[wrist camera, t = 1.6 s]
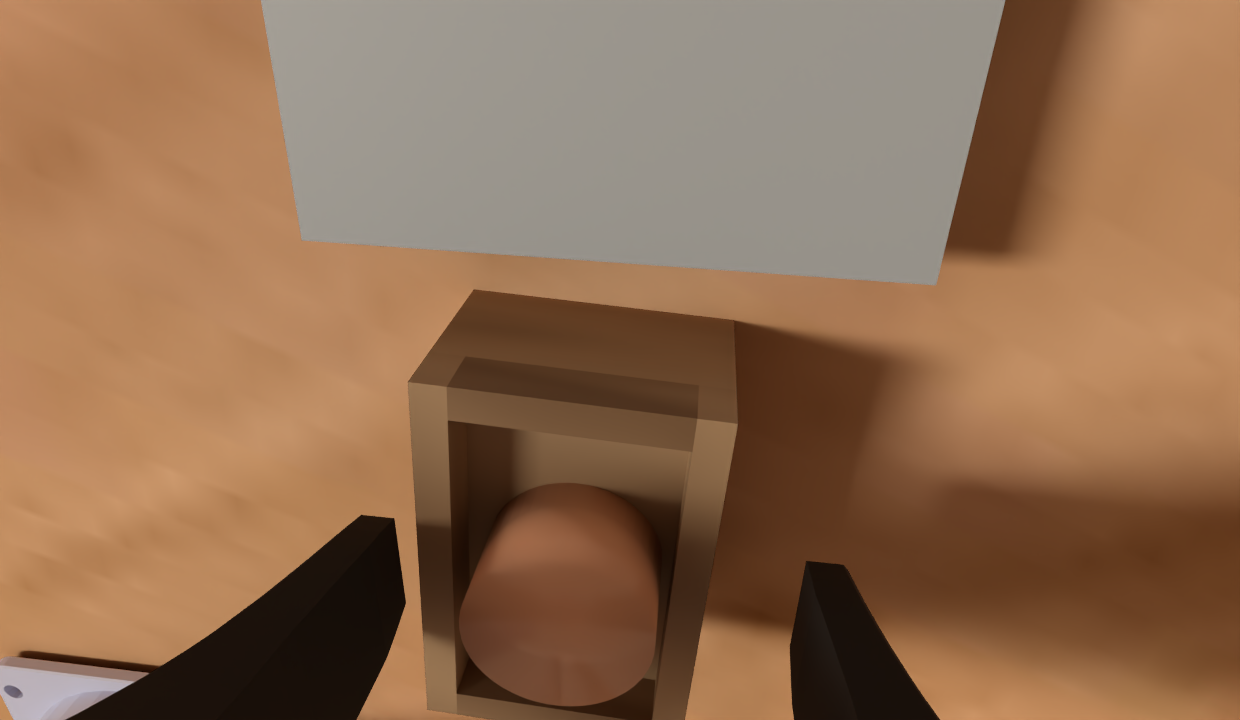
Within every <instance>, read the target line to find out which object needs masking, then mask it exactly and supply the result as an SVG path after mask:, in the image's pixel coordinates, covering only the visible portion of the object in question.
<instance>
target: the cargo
mask: <svg viewBox="0 0 1240 720" xmlns="http://www.w3.org/2000/svg"><path fill="white" fill-rule="evenodd" d="M661 568H662V550H661V546H660V541H659V539H658V537H657V534H656V532H655V530H654V529H653V527H652V525H651V524H650V522H649V521H648V520H647V519H646V517H645V516H644V515H643V514H642V513H641V512H640V511H639V510H638V509H637V508H635V507H634V506H633V505H632V504H630V503H629V502H628V501H626V500H624V499H623V498H621V497H619V496H618V495H615V494H613V493H611V492H609V491H607V490H604V489H601V488H598V487H594V486H590V485H585V484H578V483H553V484H546V485H542V486H538V487H535V488H532V489H529V490H527V491H525V492H523V493H521V494H519V495H518V496H516V497H515V498H513V499H512V500H511V501H510V502H508V503H507V504H506V505H505V506H504V507H503V509H502V510H501V511H500V513H499V514H498V516H497V518H496V519H495V521H494V523H493V526H492V529H491V531H490V534H489V536H488V539H487V541H486V544H485V547H484V549H483V552H482V554H481V557H480V559H479V562H478V565H477V567H476V570H475V572H474V575H473V578H472V580H471V583H470V585H469V588H468V590H467V593H466V596H465V598H464V601H463V603H462V607H461V610H460V615H459V631H460V635H461V640H462V642H463V645H464V647H465V649H466V651H467V653H468V655H469V656H470V658H471V659H472V661H473V662H474V663H475V665H476V666H477V667H478V668H479V669H480V670H481V671H482V672H483V673H484V674H485V675H486V676H487V677H489V678H490V679H491V680H492V681H493V682H495V683H496V684H498V685H499V686H501V687H502V688H504V689H506V690H508V691H510V692H512V693H514V694H516V695H518V696H521V697H523V698H526V699H529V700H532V701H535V702H540V703H544V704H549V705H557V706H585V705H592V704H597V703H601V702H605V701H608V700H611V699H613V698H616V697H618V696H620V695H622V694H623V693H625V692H627V691H628V690H630V689H631V688H632V687H634V686H635V685H636V684H637V683H638V682H639V681H640V680H641V679H642V678H643V677H644V675H645V674H646V673H647V671H648V669H649V667H650V665H651V663H652V660H653V657H654V653H655V643H656V631H657V618H658V605H659V593H660V580H661Z"/></svg>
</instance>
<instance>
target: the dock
mask: <svg viewBox="0 0 1240 720" xmlns="http://www.w3.org/2000/svg"><path fill="white" fill-rule="evenodd" d="M261 3H262V9H263V15H264V20H265V26H266V32H267V38H268V44H269V50H270V56H271V62H272V68H273V73H274V79H275V85H276V91H277V97H278V103H279V109H280V115H281V120H282V126H283V132H284V138H285V144H286V150H287V156H288V162H289V167H290V173H291V179H292V185H293V191H294V197H295V203H296V209H297V215H298V220H299V226H300V232H301V238H302V240H304V241H318V242H332V243H346V244H360V245H374V246H389V247H403V248H417V249H431V250H445V251H459V252H473V253H488V254H502V255H516V256H530V257H544V258H558V259H572V260H587V261H601V262H615V263H629V264H643V265H657V266H671V267H685V268H700V269H714V270H728V271H742V272H756V273H770V274H784V275H799V276H813V277H827V278H841V279H855V280H869V281H883V282H898V283H912V284H926V285H936V283H937V279H938V275H939V271H940V267H941V263H942V259H943V255H944V250H945V246H946V242H947V238H948V234H949V230H950V226H951V222H952V218H953V214H954V209H955V205H956V201H957V197H958V193H959V189H960V185H961V181H962V177H963V172H964V168H965V164H966V160H967V156H968V152H969V148H970V144H971V140H972V135H973V131H974V127H975V123H976V119H977V115H978V111H979V107H980V103H981V98H982V94H983V90H984V86H985V82H986V78H987V74H988V70H989V66H990V61H991V57H992V53H993V49H994V45H995V41H996V37H997V33H998V29H999V24H1000V20H1001V16H1002V12H1003V8H1004V4H1005V0H261Z"/></svg>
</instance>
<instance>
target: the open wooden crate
mask: <svg viewBox="0 0 1240 720" xmlns="http://www.w3.org/2000/svg"><path fill="white" fill-rule="evenodd" d="M408 394H409V411H410V427H411V444H412V461H413V477H414V494H415V511H416V527H417V544H418V561H419V577H420V594H421V611H422V628H423V644H424V661H425V678H426V694H427V710H432V711H439V712H445V713H452V714H458V715H465V716H471V717H478V718H484V719H491V720H685V716H686V710H687V705H688V699H689V693H690V688H691V682H692V677H693V671H694V666H695V660H696V655H697V649H698V644H699V638H700V632H701V627H702V621H703V616H704V610H705V605H706V599H707V594H708V588H709V582H710V577H711V571H712V566H713V560H714V555H715V549H716V544H717V538H718V533H719V527H720V521H721V516H722V510H723V505H724V499H725V494H726V488H727V483H728V477H729V471H730V466H731V460H732V455H733V449H734V444H735V438H736V433H737V427H738V410H737V385H736V360H735V335H734V320H727V319H719V318H710V317H702V316H694V315H685V314H677V313H668V312H660V311H651V310H643V309H634V308H626V307H617V306H609V305H600V304H592V303H584V302H575V301H567V300H558V299H550V298H541V297H533V296H524V295H516V294H507V293H499V292H490V291H482V290H473V292H472V293H471V294H470V296H469V297H468V299H467V300H466V301H465V303H464V304H463V306H462V307H461V308H460V310H459V311H458V312H457V314H456V315H455V317H454V318H453V319H452V321H451V322H450V324H449V325H448V326H447V328H446V329H445V331H444V332H443V333H442V335H441V336H440V338H439V339H438V340H437V342H436V343H435V345H434V346H433V347H432V349H431V350H430V352H429V353H428V354H427V356H426V357H425V359H424V360H423V361H422V363H421V364H420V366H419V367H418V368H417V370H416V371H415V373H414V374H413V375H412V377H411V378H410V380H409V381H408ZM553 483H578V484H585V485H590V486H594V487H598V488H601V489H604V490H607V491H609V492H611V493H613V494H615V495H618V496H619V497H621V498H623V499H624V500H626V501H628V502H629V503H630V504H632V505H633V506H634V507H635V508H637V509H638V510H639V511H640V512H641V513H642V514H643V515H644V516H645V517H646V519H647V520H648V521H649V522H650V524H651V525H652V527H653V529H654V530H655V532H656V534H657V537H658V539H659V541H660V546H661V550H662V568H661V580H660V593H659V605H658V618H657V631H656V643H655V653H654V657H653V660H652V663H651V665H650V667H649V669H648V671H647V673H646V674H645V675H644V677H643V678H642V679H641V680H640V681H639V682H638V683H637V684H636V685H635V686H634V687H632V688H631V689H630V690H628V691H627V692H625V693H623V694H622V695H620V696H618V697H616V698H613V699H611V700H608V701H605V702H601V703H597V704H592V705H585V706H557V705H549V704H544V703H540V702H535V701H532V700H529V699H526V698H523V697H521V696H518V695H516V694H514V693H512V692H510V691H508V690H506V689H504V688H502V687H501V686H499V685H498V684H496V683H495V682H493V681H492V680H491V679H490V678H489V677H487V676H486V675H485V674H484V673H483V672H482V671H481V670H480V669H479V668H478V667H477V666H476V665H475V663H474V662H473V661H472V659H471V658H470V656H469V655H468V653H467V651H466V649H465V647H464V645H463V642H462V640H461V635H460V631H459V615H460V610H461V607H462V603H463V601H464V598H465V596H466V593H467V590H468V588H469V585H470V583H471V580H472V578H473V575H474V572H475V570H476V567H477V565H478V562H479V559H480V557H481V554H482V552H483V549H484V547H485V544H486V541H487V539H488V536H489V534H490V531H491V529H492V526H493V523H494V521H495V519H496V518H497V516H498V514H499V513H500V511H501V510H502V509H503V507H504V506H505V505H506V504H507V503H508V502H510V501H511V500H512V499H513V498H515V497H516V496H518V495H519V494H521V493H523V492H525V491H527V490H529V489H532V488H535V487H538V486H542V485H546V484H553Z"/></svg>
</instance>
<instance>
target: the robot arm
mask: <svg viewBox="0 0 1240 720" xmlns="http://www.w3.org/2000/svg"><path fill="white" fill-rule="evenodd" d="M405 604H406V600H405V593H404V586H403V579H402V571H401V564H400V557H399V549H398V542H397V535H396V528H395V520H394V518H385V517H375V516H366V515H361V516H359V517H358V518H357V519H356V520H355V521H353V522H352V523H351V524H350V525H348V526H347V527H346V528H345V529H343V530H342V531H341V532H340V533H339V534H337V535H336V536H335V537H334V538H333V539H331V540H330V541H329V542H328V543H327V544H325V545H324V546H323V547H322V548H321V549H319V550H318V551H317V552H316V553H315V554H313V555H312V556H311V557H310V558H309V559H307V560H306V561H305V562H304V563H303V564H301V565H300V566H299V567H298V568H297V569H295V570H294V571H293V572H292V573H290V574H289V575H288V576H287V577H285V578H284V579H283V580H282V581H280V582H279V583H278V584H277V585H275V586H274V587H273V588H272V589H270V590H269V591H268V592H267V593H265V594H264V595H263V596H262V597H260V598H259V599H258V600H256V601H255V602H254V603H252V604H251V605H250V606H248V607H247V608H245V609H244V610H243V611H241V612H240V613H239V614H237V615H236V616H235V617H233V618H232V619H231V620H229V621H228V622H227V623H225V624H224V625H223V626H221V627H220V628H218V629H217V630H216V631H214V632H213V633H211V634H210V635H208V636H207V637H206V638H204V639H203V640H201V641H200V642H198V643H197V644H195V645H194V646H192V647H191V648H189V649H188V650H186V651H184V652H183V653H181V654H180V655H178V656H177V657H175V658H173V659H172V660H170V661H169V662H167V663H165V664H164V665H162V666H161V667H159V668H157V669H156V670H154V671H153V672H151V673H146V672H138V671H130V670H121V669H113V668H105V667H96V666H88V665H80V664H71V663H63V662H55V661H47V660H38V659H30V658H22V657H4V658H2V659H1V660H0V694H1V696H2V698H3V700H4V702H5V704H6V706H7V708H8V710H9V712H10V714H11V716H12V717H13V719H14V720H356V719H357V717H358V715H359V713H360V711H361V709H362V707H363V705H364V703H365V701H366V699H367V697H368V695H369V693H370V691H371V689H372V687H373V685H374V683H375V681H376V679H377V677H378V675H379V673H380V671H381V669H382V667H383V665H384V662H385V660H386V658H387V656H388V653H389V650H390V648H391V645H392V642H393V639H394V637H395V634H396V631H397V628H398V625H399V622H400V619H401V616H402V613H403V610H404V607H405ZM790 664H791V689H792V707H793V714H794V720H940V719H939V718H938V716H937V715H936V714H935V712H934V711H933V709H932V708H931V707H930V705H929V704H928V702H927V701H926V700H925V698H924V697H923V695H922V694H921V692H920V691H919V689H918V688H917V687H916V685H915V684H914V682H913V681H912V679H911V678H910V676H909V675H908V673H907V671H906V670H905V668H904V667H903V665H902V664H901V662H900V660H899V659H898V657H897V656H896V654H895V653H894V651H893V649H892V648H891V646H890V645H889V643H888V641H887V640H886V638H885V636H884V635H883V633H882V631H881V630H880V628H879V626H878V625H877V623H876V621H875V619H874V618H873V616H872V614H871V612H870V611H869V609H868V607H867V605H866V603H865V602H864V600H863V598H862V596H861V594H860V592H859V590H858V589H857V587H856V585H855V583H854V581H853V579H852V577H851V575H850V573H849V571H848V570H847V569H846V567H845V566H844V565H839V564H830V563H820V562H810V561H806V566H805V571H804V576H803V582H802V587H801V592H800V597H799V602H798V607H797V612H796V618H795V623H794V628H793V633H792V638H791V643H790Z"/></svg>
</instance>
